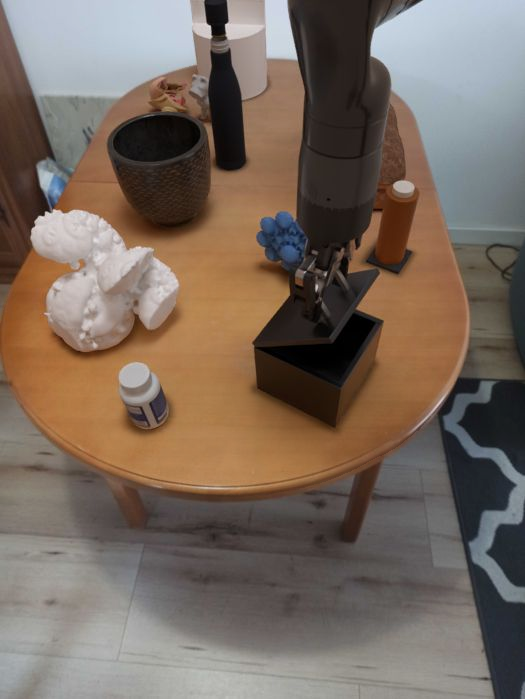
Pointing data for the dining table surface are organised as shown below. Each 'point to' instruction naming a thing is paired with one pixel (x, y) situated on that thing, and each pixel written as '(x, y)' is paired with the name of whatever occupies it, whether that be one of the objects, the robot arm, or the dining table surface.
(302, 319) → the lid
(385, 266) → the coaster
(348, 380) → the black hinged box
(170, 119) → the planter
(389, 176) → the bread
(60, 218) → the white lumpy sculpture
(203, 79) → the dog figurine
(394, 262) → the amber bottle
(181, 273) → the dining table surface
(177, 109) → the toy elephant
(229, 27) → the cylinder
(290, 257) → the grapes
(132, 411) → the pill bottle
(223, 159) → the black water bottle
